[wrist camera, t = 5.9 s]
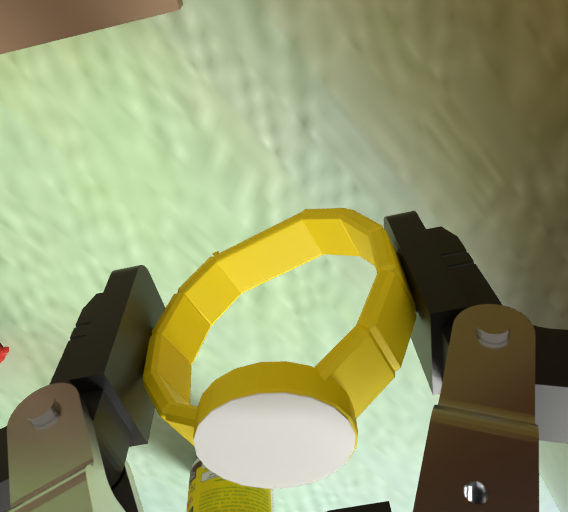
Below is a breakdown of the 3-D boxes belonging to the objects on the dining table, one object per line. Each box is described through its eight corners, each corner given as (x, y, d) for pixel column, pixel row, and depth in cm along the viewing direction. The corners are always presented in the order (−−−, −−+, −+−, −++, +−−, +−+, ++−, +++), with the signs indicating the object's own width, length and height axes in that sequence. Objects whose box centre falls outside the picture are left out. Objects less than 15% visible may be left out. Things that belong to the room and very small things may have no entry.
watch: (210, 317, 14) (171, 524, 10) (153, 251, 13) (74, 455, 8) (400, 240, 13) (466, 446, 8) (358, 154, 11) (409, 342, 6)
